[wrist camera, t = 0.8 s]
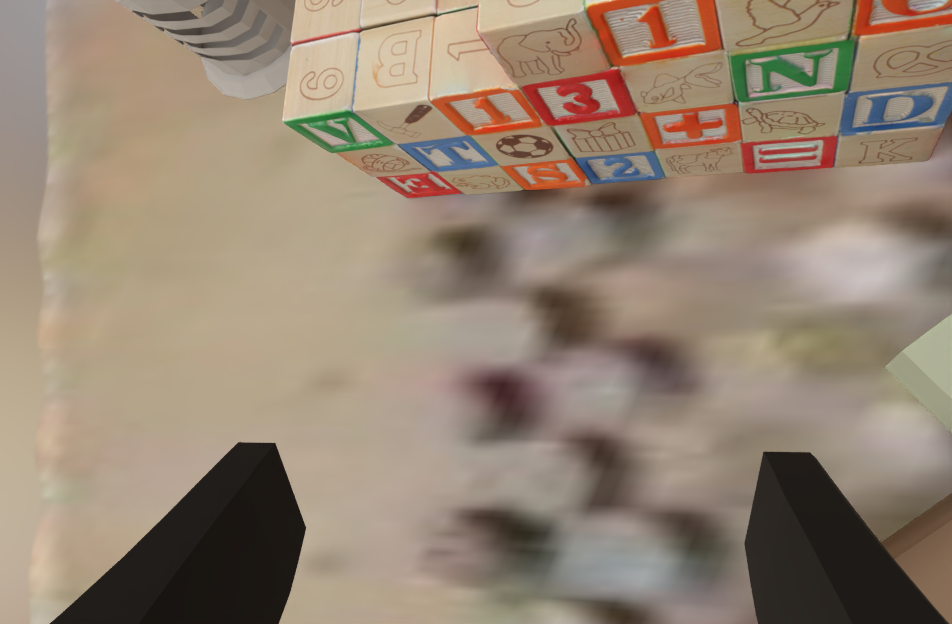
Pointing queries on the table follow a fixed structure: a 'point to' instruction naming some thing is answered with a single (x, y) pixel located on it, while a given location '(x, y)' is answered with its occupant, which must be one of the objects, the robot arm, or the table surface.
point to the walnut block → (928, 554)
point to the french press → (229, 39)
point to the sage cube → (929, 371)
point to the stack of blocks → (615, 88)
